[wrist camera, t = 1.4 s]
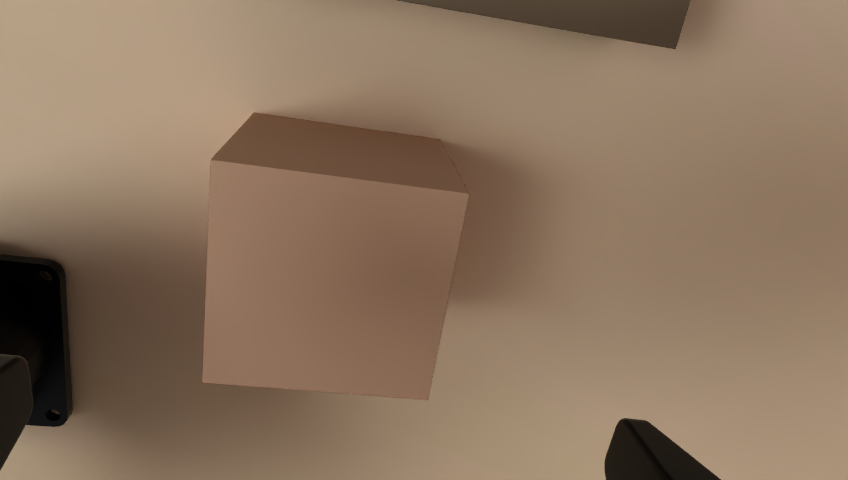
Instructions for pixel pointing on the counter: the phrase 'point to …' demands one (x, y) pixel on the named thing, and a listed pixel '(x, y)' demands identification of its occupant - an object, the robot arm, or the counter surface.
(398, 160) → the brown cube
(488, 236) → the counter surface
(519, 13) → the walnut base
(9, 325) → the robot arm
